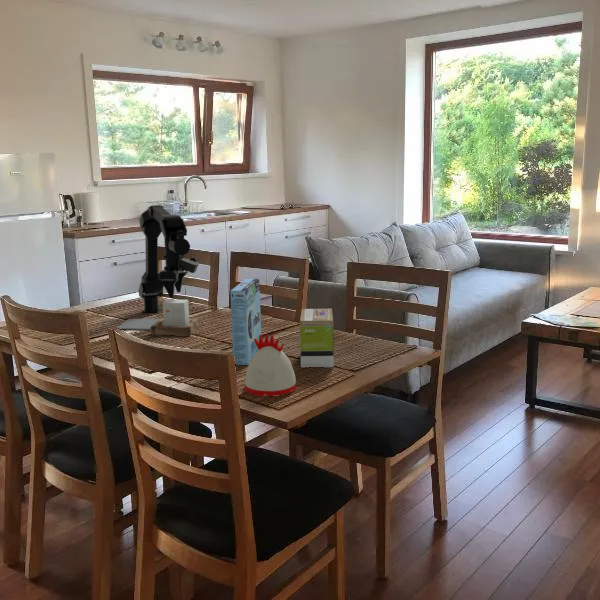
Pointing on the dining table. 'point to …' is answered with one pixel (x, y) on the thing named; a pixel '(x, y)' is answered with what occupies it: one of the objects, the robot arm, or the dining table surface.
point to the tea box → (316, 338)
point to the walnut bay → (174, 328)
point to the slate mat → (138, 324)
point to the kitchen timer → (269, 370)
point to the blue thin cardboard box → (245, 320)
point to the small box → (176, 313)
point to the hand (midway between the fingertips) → (175, 294)
